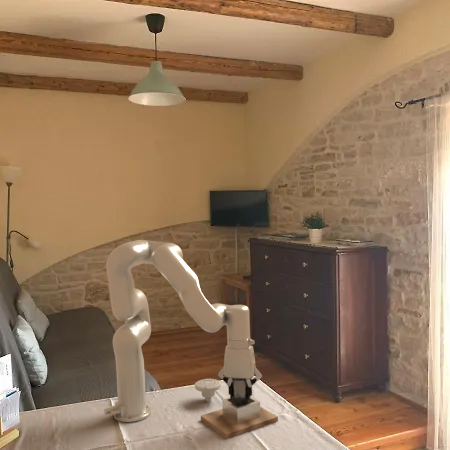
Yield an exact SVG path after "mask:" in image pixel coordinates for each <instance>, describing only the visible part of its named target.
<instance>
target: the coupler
mask: <svg viewBox="0 0 450 450" xmlns="http://www.w3.org/2000/svg"><path fill="white" fill-rule="evenodd" d="M232 382H233V403H234V404H235V405H239V406H241V405H246V404H248V399H247V386H248V384H247V381H246V379H245V378H233V379H232Z"/></svg>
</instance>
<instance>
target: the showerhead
mask: <svg viewBox="0 0 450 450" xmlns="http://www.w3.org/2000/svg"><path fill="white" fill-rule="evenodd" d="M221 384H222V383H221V381H220V380H218V379H216V378H215V379H214V378H210V377H209V378H204V379H200V380H198V381H196V382H195V383H194V388H195V390H196V391H199V392H200V393H201V396H202V397H203V398H204V399H205V401H206V402H212V398H213V397H214V396H215V395H216V392H217V391H218V390H220V389H221V387H222V385H221Z"/></svg>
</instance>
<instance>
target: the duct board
mask: <svg viewBox="0 0 450 450" xmlns="http://www.w3.org/2000/svg"><path fill="white" fill-rule="evenodd" d="M221 404H222V406H221V407H222V409H218V410H214V411H211V412H208V413H204V414H202V415H201V414H200V421H202V422H203V423H204V424H206V425H207V426H208V427H209V428H211V429H212V430H214V431H215V432H216V433H217V434H220V435H221V436H222V437H223V438H225V439H226V440H228V439H230V438H234V437H236V436H239V435H242V434H245V433H248V432H252V431H253V430H257V429H259V428H262V427H265V426H268V425H270V424H274V423H276V422H278V421H279V418H278V417H279V416H278V415H275V414H274V413H272V412H271V411H268V410H266V409H265V408H264V407H263V406H261V401H260V400H258V399H257V398H254V397H252V396H250V399H248V404H246V405H241V406H239V405H235V404H234V403H233V398H230V396H229V397H225V398H223V399H222V400H221Z"/></svg>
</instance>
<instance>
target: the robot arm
mask: <svg viewBox="0 0 450 450" xmlns="http://www.w3.org/2000/svg"><path fill="white" fill-rule="evenodd" d="M183 257H184V254H183V251H182V248H180V246H179V245H178V244H175V243H172V242H164V241H163V242H162V241H154V240H147V239H146V240H145V239H137V240H132V241H128V242H125V243H122V244H120V245H118V246H117V247H115V248H114V249H113V250H112V251H111V252H110V254H109V255H108V257H107V261H106V264H105V265H106V266H105V267H106V275H107V281H108V287H109V288H108V291H109V297H110V304H111V311H112V312H111V313H112V314H113V316H114V318H115V319H116V320H117V321H119V322H124V324H122V325H121V326H120V327H118V328H117V329H116V331H115V332H114V334H113V336H112V337H113V338H112V348H113V352H114V353H113V354H114V357H115V358H114V360H115V371H116V373H115V374H116V391H117V401H115V402H114V403H115V404H114V405H113V406H112V407H107V408H104V409H103V414H104V415H106V416H107V415H110V416H111V417H112V416H113V417H114V419H115V420H116V421H119V422H122V423H134V422H139V421H142V420H145V419H146V418H148V417H149V416H150V415H151V412H152V410H151V409H152V408H151V406H149V405H147V398H146V397H147V396H146V374H145V371H146V370H145V361H144V360H145V359H144V354H143V349H142V346H143V344H145V343H146V342H147V341H148V340H149V339H150V336H151V333H152V324H151V318H150V317H151V316H150V310H149V303H148V299H147V296H146V294H145V293H144V292H143V291H142V290H140V289H138V288H135V280H134V276H133V273H132V271H131V270H132V268H134V267H137V266H139V265H142V264H146V265H153V266H154V267H155V269H156V270H157V271H158V272H159V273H160V274H161V276H163V277H164V278H165V280H167V282H168V283H169V284H170V286H171V287H172V288H173V289H174V290H175V292H176V293H177V294H178V296H179V299H180V301H181V303H182V304H183V306H184V308H185V310H186V312H187V313H188V315H189V316H190V317H191V318H192V319H193V320H194V321H195V323H196V324H197V325H198V326H199V327H200V328H201V330H203V331H205V332H207V333H216V332H218V331H220V330H221V329H222V327H223V326H226V335H227V336H226V339H227V345H226V346H225V349H224V357H223V367H222V368H221V369H220V370H219V372H218V373H217V376H218V377H219V378H220V379H221V380H223V382H224V383H225V384H226V386H227V387H228V388H227V389H228V395H230V396H229V397H230V398H233V382H232V379H233V378H245V379H246V381H247V384H248V386H247V399H250V396H251V397H252V396H253V386H254V385H255V384H256V383H257V382H258V381H259V380H260V379H262V377H263V375H262V373H261V372H260V370H259V369H258V368H257V366H256V359H255V358H256V356H255V352H254V346H253V345H255V339H252V338H251V327H250V309H249V307H248V306H247V305H244V304H233V305H232V304H231V305H229V304H224V303H212V304H211V303H210V302H209V301H208V300H207V299H206V297H205V296H204V294H203V292H202V290H201V287H200V282H199V278H198V275H197V274H196V273H195V272H194V270H193V269H191V267H190V266H189V265H188V264H187V262H186V261H184V258H183Z"/></svg>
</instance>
